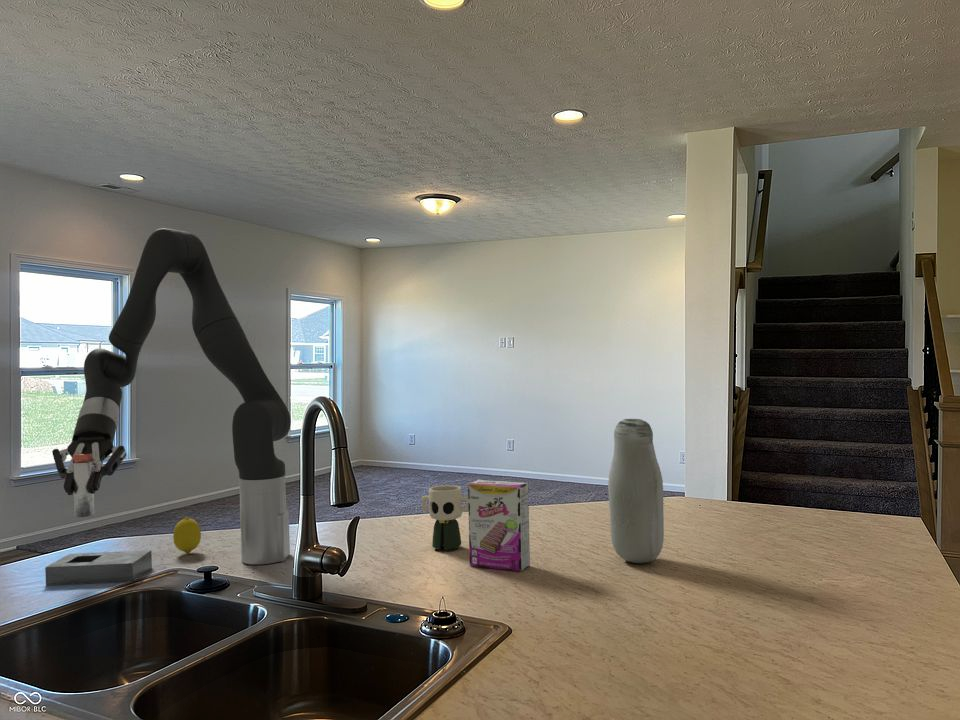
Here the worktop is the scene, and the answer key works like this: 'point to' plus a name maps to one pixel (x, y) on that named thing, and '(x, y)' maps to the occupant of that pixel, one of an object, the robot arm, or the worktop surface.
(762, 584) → the worktop surface
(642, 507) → the grey bottle
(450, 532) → the character mug
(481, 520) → the candy bar box
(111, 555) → the grey block with hole
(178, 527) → the lemon
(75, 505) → the pin
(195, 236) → the robot arm
